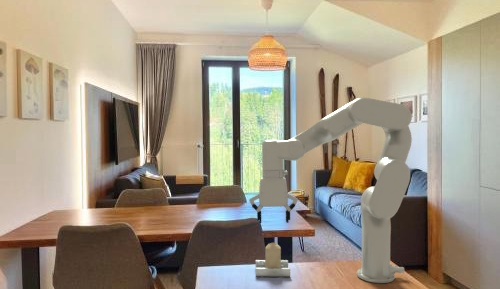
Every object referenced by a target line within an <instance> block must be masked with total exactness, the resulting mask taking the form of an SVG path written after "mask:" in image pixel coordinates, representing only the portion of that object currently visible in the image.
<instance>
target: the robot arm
mask: <svg viewBox="0 0 500 289" xmlns="http://www.w3.org/2000/svg"><path fill="white" fill-rule="evenodd" d="M412 117H413V116H412V112H411V110H410V109H409V107H407V106H405V105H403V104H401V103H397V102H392V101H391V102H390V101H386V100H379V99H375V98H371V97H365V96H364V97H358V98H356V99H354V100H351V101H350V102H348V103H346V104H345V105H343V106H342V107H340V108H338V109H337V110H335V111H334V112H331V113H330V114H328V115H327V116H325V117H323V118H321V119H320V120H318V121H317V122H316V123H315V124H313V125H312V126H310V127H308V128H307V129H306V130H304V131H302V132H300V133H299V134H297V135H295V136H294V137H292V138H290V139H288V140H280V139H265V140H264V141H263V142H262V143H261V145H262V146H261V156H262V158H261V159H262V160H261V161H262V164H261V165H262V166H261V167H262V177H260V180H259V188H258V194H256V195H254V196H253V197H251V198H249V199H248V201H249V203H250V206H252V209H254V210H255V211H256V214H257V216H256V217H257V218H256V219H257V221H258V222H259V224H262V209H263V208H266V207H267V208H271V207H274V208H275V207H276V208H278V207H284V209H285V222H286V224H289V223H290V221H291V212H292V210H293V209H294V208H295V207H296V204H297V203H298V201H299V200H298V198H297V197H295V196H294V195H291V194H290V193H288V186H287V178H286V177H285V176H286V175H287V176H288V175H289V174H288V171H287V170H284V168H285V167H284V161H285V160H286V161H293V162H294V161H300V160H301V159H303V157H305V155H306V154H308V153H309V152H310V151H313V150H314V149H316V148H318V147H319V146H321V145H325V144H327V143H330V142H333V141H335V140H337V139H338V138H340V137H341V136H343V135H345V134H347V133H348V132H350V131H351V130H352V131H353V130H354V129H355V128H357V127H359V126H361V125H362V124H367V125H370V126H375V127H380V128H382V129H383V131H384V135H385V140H384V143H383V147H382V149H381V152H380V155H379V157H378V160H377V162H376V165H375V167H374V170H373V175H374V177H375V179H376V183H375V185H374V186H369V187H368V188H366V189H365V190H364V191H363V192H362V195H361V197H360V198H361V199H360V209H361V211H360V212H361V268H358V269H357V270H356V276H357V277H358V278H359V279H362V280H363V281H366V282H369V283H376V284H387V283H388V284H389V283H391V282H393V281H395V279H396V275H395V274H396V273H397V274H405V267H403V266H398V265H395V264H394V265H392V264H391V233H392V232H391V231H392V226H391V225H392V223H391V219H392V218H393V217H394V216H395V215H396V213H398V210H400V209H399V208H400V207H401V204H402V202H403V200H404V197H405V194H406V192H407V189H408V187H409V184H410V180H411V170H410V168H409V166H408V165H407V163H406V161H407V160H408V156H409V153H410V149H411V147H412V141H413V140H412V139H413V138H412V132H411V128H410V124H411V122H412V120H413V119H412ZM256 200H258V203H259V205H256V203H255V201H256ZM289 200H291V201H292V203H290V204H288V203H289V202H288V201H289Z"/></svg>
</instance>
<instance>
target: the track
mask: <svg viewBox="0 0 500 289" xmlns="http://www.w3.org/2000/svg"><path fill="white" fill-rule="evenodd" d="M255 278H257V279H260V278H264V279H266V278H269V279H270V278H271V279H274V278H275V279H277V278H278V279H281V278H282V279H283V278H285V279H287V278H288V279H291V268H290V267H289V260H287V259H285V260H284V259H281V268H265V259H255Z"/></svg>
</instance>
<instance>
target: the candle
mask: <svg viewBox="0 0 500 289" xmlns="http://www.w3.org/2000/svg"><path fill="white" fill-rule="evenodd" d="M264 249H265V252H264V254H265V255H264V256H265V259H264V260H265V268H281V260H282V259H281V257H282V256H281V254H282V248H281V246H280V245H279V244H278V243H276V242H271V243H268V244H267V245H266V246H265V248H264Z"/></svg>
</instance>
